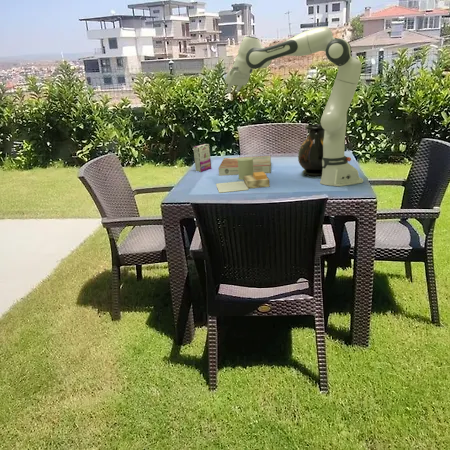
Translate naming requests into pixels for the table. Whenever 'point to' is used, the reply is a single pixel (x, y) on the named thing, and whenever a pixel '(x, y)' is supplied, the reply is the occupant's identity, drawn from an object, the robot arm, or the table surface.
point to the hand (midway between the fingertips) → (232, 92)
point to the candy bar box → (202, 157)
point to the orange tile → (259, 175)
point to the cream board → (231, 186)
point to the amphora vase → (312, 151)
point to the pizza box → (231, 165)
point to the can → (245, 167)
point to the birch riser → (256, 182)
